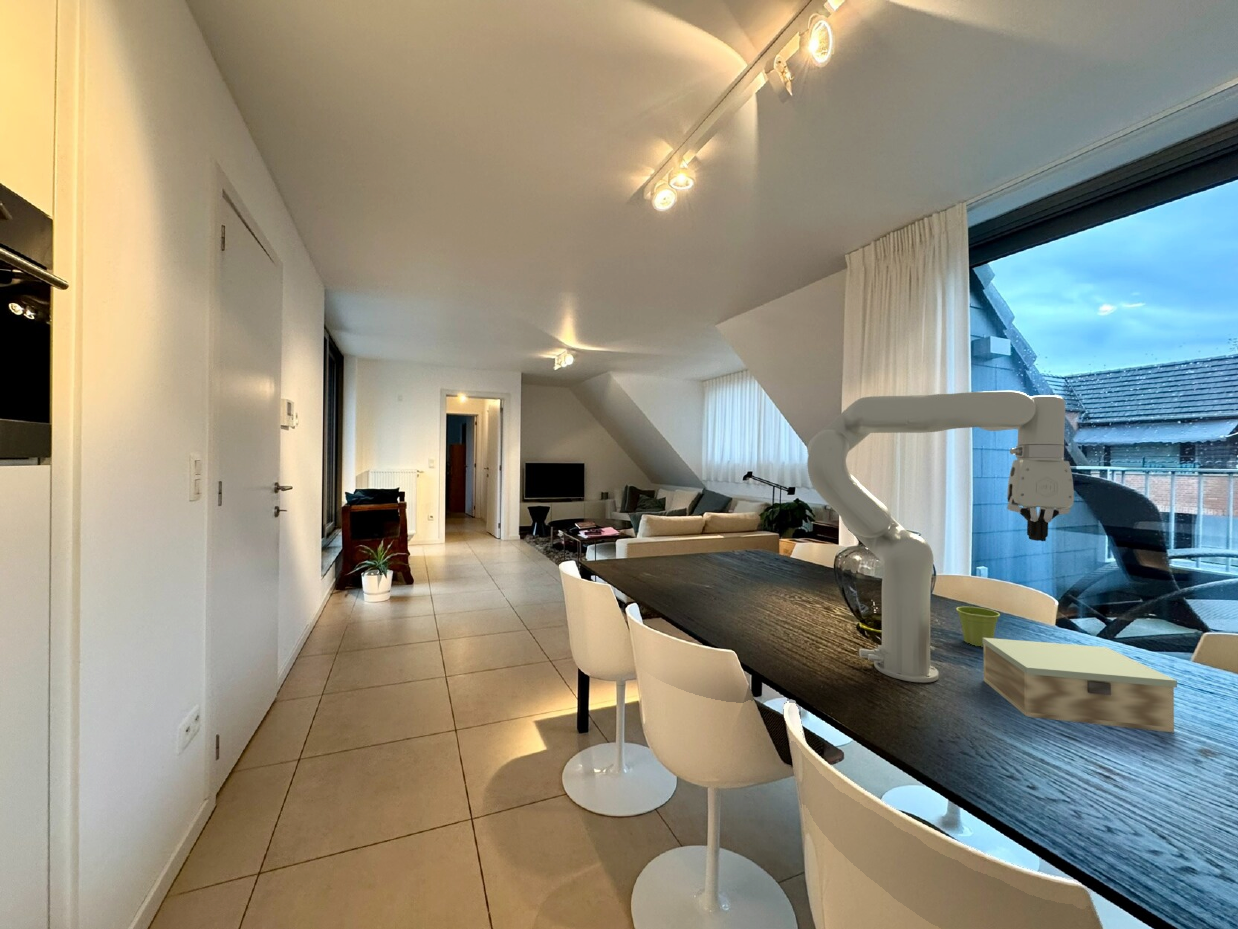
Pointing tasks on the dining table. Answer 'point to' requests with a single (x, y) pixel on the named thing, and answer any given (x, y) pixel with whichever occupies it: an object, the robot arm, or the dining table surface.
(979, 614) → the plant pot
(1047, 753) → the dining table surface
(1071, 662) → the lid
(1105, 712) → the crate
